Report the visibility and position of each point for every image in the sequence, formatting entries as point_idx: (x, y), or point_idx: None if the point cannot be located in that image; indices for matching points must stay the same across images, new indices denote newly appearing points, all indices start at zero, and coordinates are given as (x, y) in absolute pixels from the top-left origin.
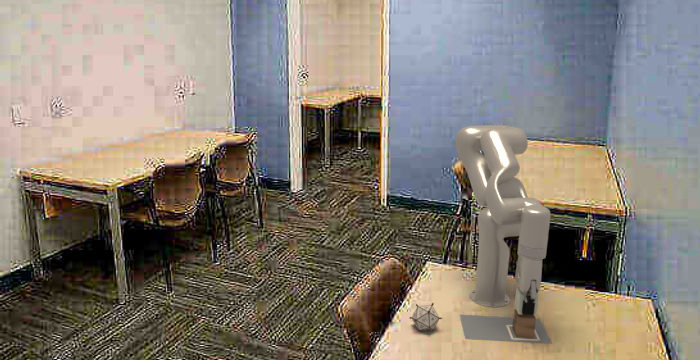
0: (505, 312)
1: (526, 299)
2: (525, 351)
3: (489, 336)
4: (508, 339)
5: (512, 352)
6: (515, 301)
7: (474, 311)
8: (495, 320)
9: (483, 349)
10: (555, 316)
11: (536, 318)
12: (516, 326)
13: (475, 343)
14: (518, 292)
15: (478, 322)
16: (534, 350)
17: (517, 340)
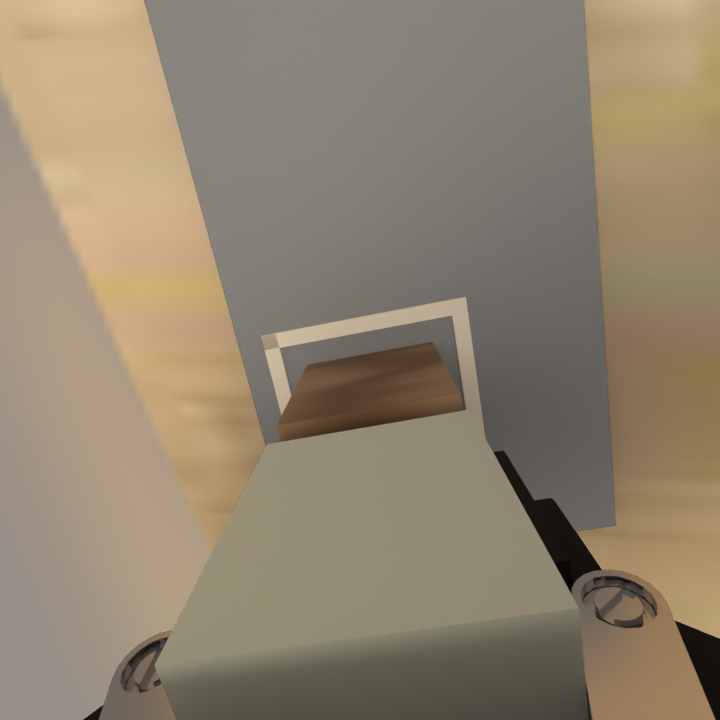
0: (707, 290)
1: (108, 715)
2: (184, 415)
3: (246, 169)
4: (254, 314)
5: (138, 338)
6: (459, 443)
7: (696, 11)
8: (523, 210)
9: (91, 134)
10: (686, 605)
11: (612, 505)
12: (308, 387)
13: (150, 63)
14: (339, 611)
15: (455, 58)
16: (217, 466)
17: (264, 374)
